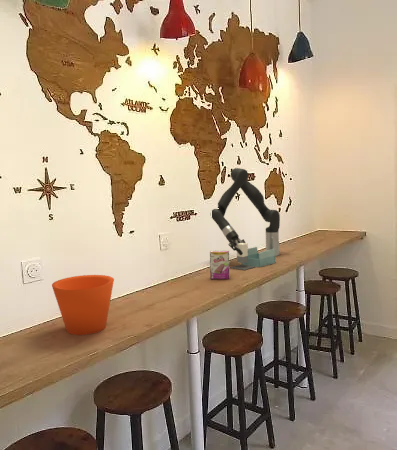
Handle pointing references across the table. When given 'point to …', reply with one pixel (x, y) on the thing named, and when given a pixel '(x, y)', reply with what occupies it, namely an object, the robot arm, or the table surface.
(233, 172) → the robot arm
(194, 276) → the table surface
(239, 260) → the block
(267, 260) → the carton
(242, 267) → the mat
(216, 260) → the candy bar box
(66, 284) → the flowerpot
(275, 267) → the table surface
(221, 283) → the table surface
